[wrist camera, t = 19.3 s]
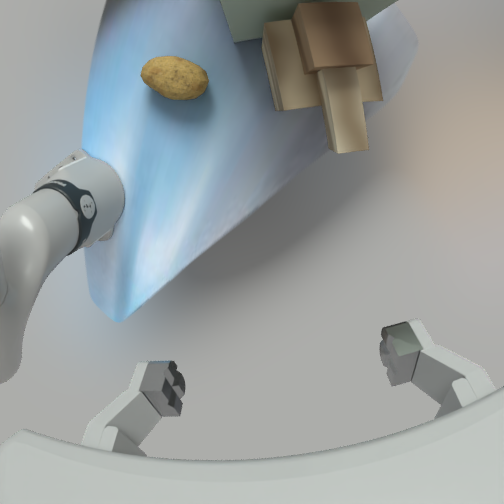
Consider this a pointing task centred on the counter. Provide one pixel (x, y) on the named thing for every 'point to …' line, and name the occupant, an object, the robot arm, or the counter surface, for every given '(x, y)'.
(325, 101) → the walnut handle block
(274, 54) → the low oak block
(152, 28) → the counter surface
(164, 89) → the potato
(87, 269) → the counter surface
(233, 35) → the large sage green box
